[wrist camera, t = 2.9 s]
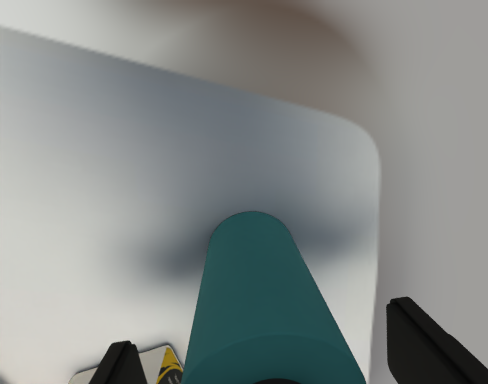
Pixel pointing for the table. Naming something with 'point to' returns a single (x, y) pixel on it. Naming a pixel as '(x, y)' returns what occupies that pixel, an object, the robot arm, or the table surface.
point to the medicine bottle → (148, 368)
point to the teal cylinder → (263, 313)
